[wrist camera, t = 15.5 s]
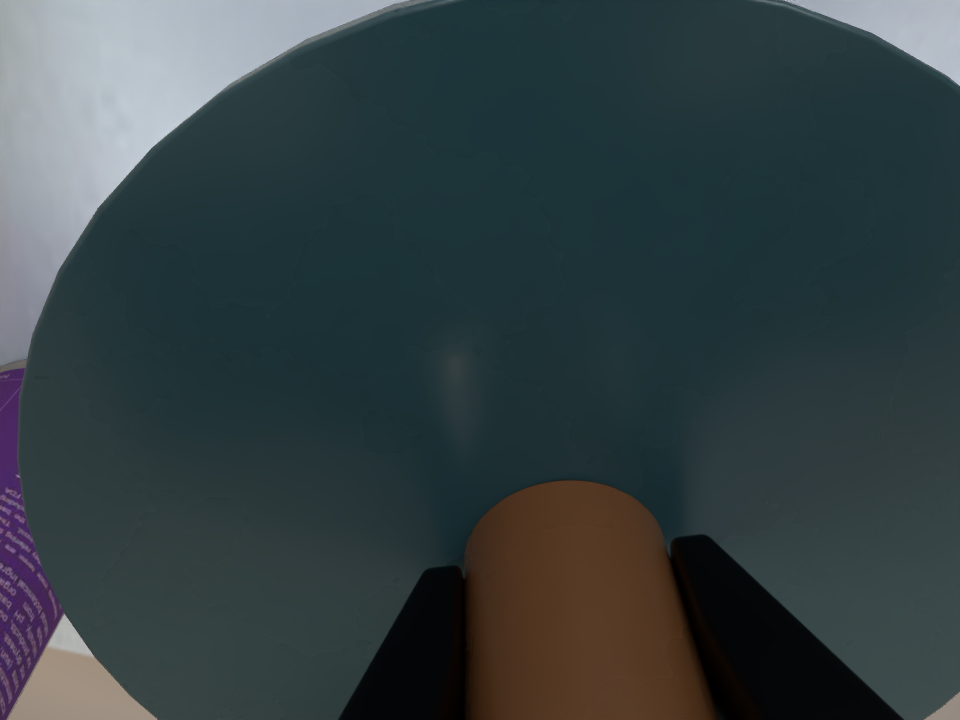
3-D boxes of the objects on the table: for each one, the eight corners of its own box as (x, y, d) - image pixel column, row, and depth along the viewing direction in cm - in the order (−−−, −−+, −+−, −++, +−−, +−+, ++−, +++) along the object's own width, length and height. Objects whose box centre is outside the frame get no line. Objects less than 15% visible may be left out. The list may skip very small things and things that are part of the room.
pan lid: (1196, -146, 7) (2393, -188, 3) (968, 734, 13) (1211, 1146, 9) (-156, 82, 8) (-940, 336, 3) (236, 812, 14) (135, 1227, 10)
